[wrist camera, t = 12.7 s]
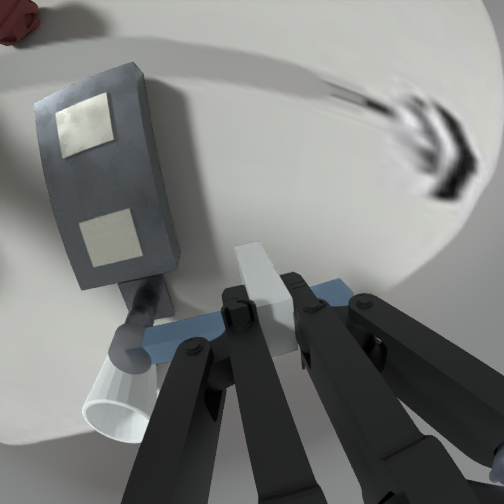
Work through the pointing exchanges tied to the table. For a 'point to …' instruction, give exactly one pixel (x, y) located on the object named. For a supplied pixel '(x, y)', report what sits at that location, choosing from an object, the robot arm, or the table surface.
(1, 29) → the mechanical component
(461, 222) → the table surface
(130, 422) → the cup
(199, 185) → the table surface
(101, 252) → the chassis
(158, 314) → the pivot post
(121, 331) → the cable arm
